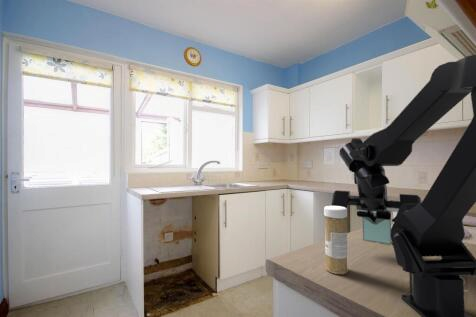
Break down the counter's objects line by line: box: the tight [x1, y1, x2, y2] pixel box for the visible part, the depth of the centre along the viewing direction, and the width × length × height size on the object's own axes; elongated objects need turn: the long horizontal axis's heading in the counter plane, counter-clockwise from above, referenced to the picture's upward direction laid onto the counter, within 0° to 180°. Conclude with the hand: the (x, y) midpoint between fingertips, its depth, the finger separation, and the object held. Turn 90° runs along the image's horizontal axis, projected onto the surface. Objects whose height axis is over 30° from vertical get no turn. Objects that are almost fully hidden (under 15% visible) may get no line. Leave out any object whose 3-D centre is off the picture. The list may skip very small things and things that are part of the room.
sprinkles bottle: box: [323, 205, 349, 275], centre depth 49 cm, size 5×5×13 cm
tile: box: [362, 211, 393, 245], centre depth 67 cm, size 2×7×8 cm, turn 56°
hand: (375, 222), depth 62 cm, fingers closed
